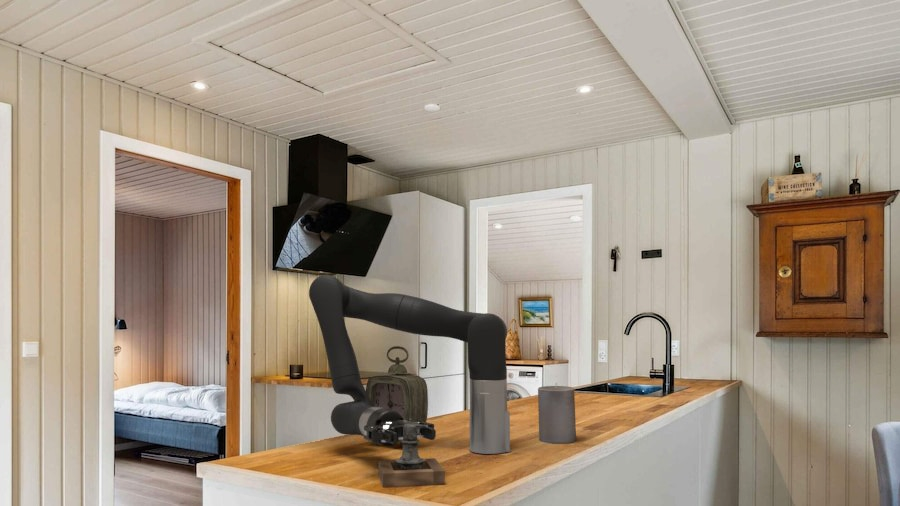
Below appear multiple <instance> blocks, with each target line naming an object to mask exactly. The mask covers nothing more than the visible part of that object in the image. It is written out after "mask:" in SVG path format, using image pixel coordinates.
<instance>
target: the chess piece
mask: <svg viewBox="0 0 900 506" xmlns="http://www.w3.org/2000/svg"><path fill="white" fill-rule="evenodd" d="M411 420H412V419H411V418H409V422H408V423H405V424H404V426H403V440H402V441H401V442H402V443H403V444H402V453H401V455H400V457H399V458H396V459H395V460H396V462H397V467H398V469H399V470H419V469H422V466H423V462H424V461H425V460H424V459H425V458H422V457H420V455H419V451H418V448H419V446H418V443H419V442H420V440H419V438H417V425H416V424H415V423H413V422H411Z"/></svg>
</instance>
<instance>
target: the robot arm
mask: <svg viewBox="0 0 900 506" xmlns="http://www.w3.org/2000/svg"><path fill="white" fill-rule="evenodd" d="M308 295H309V296H308V297H309V300H310V303H311V305H312V308H313V310H314V313H315V316H316V318H317V321H318V324H319V327H320V328H319V329H320V332H321V336H322V339H323V344H324V349H325V352H326V359H327V363H328V369H329V373H330V379H331V385H332V389H333V391H334V393H335V394H339V395H346V396H347V395H348V396H350V397H351V398H352V400H354V401H347V402H342V403H339V404H337V405H335V406H334V407H333V409H332V411H331V413H330V422H331V425H332V427H333V428H334V430H335V431H337V432H338V433H339V434H342V435H348V436H349V435H350V436H352V435H353V436H362V437H363V439H364V440H367V441H368V442H371V443H372V442H373V443H377V444H379V445H381V446H386V447H391V446H394V445H396V444H398V442H399V441H400V440H403V426H404V424H405V423H408V421H406V420H404V419H403V417H402V416H401V415H400V414H399V413H398V412H396V411H393V410H389V409H385V408H382V407H374V406H373V404H372V402H371V400H370V399H369V397H368V395H367V393H366V388H365V387H364V384H363V382H362V379H361V375H360V370H359V364H358V361H357V356H356V352H355V351H354V348H353V344H352V342H351V339H350V336H349V333H348V330H347V327H346V323H345V318H349V319H356V320H361V321H366V322H368V323H369V322H370V323H372V324H375V325H378V326H382V327H384V328H387V329H392V330H395V331H398V332H399V331H400V332H403V333H408V334H413V335H420V336H426V337H428V336H429V337H440V338H441V337H442V338H449V339H450V338H451V339H453V340H459V341H462V342H465V343H467V365H468V372H469V373H468V374H469V375H468V377H469V390H468V391H469V452H471V453H476V454H481V455H482V454H483V455H484V454H486V455H491V454H492V455H494V454H495V455H497V454H504V453H510V452H511V427H510V426H511V425H510V424H511V421H510V419H511V418H510V417H511V416H510V415H511V414H510V411H509V410H508V378H507V377H508V376H507V375H508V371H507V370H508V369H507V355H506V353H507V351H506V348H507V347H506V341H507V336H508V328H507V325H506V323H505V321H504V320H503V319H502V318H501V317H500V316H498V315H496V314H493V313H488V312H487V313H486V312H485V313H483V312H482V313H481V312H480V313H479V312H473V311H466V310H459V309H455V308H452V307H448V306H446V305H444V304H443V305H442V304H440V303H437V302H434V301H432V300H431V301H430V300H428V299H424V298H421V297H417V296H413V295H412V296H411V295H407V294H402V293H392V292H391V293H390V292H389V293H388V292H387V293H385V292H384V293H374V292H373V293H372V292H367V291H364V290H359V289H357V288H356V289H355V288H353V287H350V286H348V285H345V284H344V283H343V282H342V281H341V280H340V279H339V278H337V277H336V276H333V275H331V274H322V275H319V276H317V277H316V278H315V279H314V280H313V281H312V282H311V284H310V286H309V290H308ZM413 423H415V424H416V425H417V439H419V438H422V439H427V440H428V441H429V440H430V441H434V440H435V439H436V436H437V435H436V432H437V431H436V429H435V424H434V423H431V422H427V421H426V422H423V421H417V422H413ZM399 443H400V442H399Z"/></svg>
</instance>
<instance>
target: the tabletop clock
mask: <svg viewBox="0 0 900 506" xmlns="http://www.w3.org/2000/svg"><path fill="white" fill-rule="evenodd" d="M392 350H401V351H403V352H405V354H406V357H405V358H404V359H400V357H398V356H396V357H395V359H393V358H391V357H390V356H389V355H390V352H392ZM409 355H410V354H409V351H408V350H407V349H406V348H405V347H403V346H398V345H396V346H392V347H389V349H387V352H386V357H387V359H388V361H389V362H391V363H395V364H392V365H390V366H389V368H388V370H387V374H383V375H381V374H380V375H375V376H370V377H369V378H368V380H367V382H366V387H365V391H366V393H367V395H368V397H369V399H370V400H371V402H372V404H373V406H374V407H382V408H385V409H389V410H393V411H396V412H398V413H399V414H400V415H401V416H402V417H403V419H404V420H406V421H408V422H409V418H411V419H412V420H411V422H417V421H423V422H427V420H428V411H429V410H428V409H429V398H428V397H429V393H428V391H429V390H428V385H427V381H426V379H425V378H423V377H422V376H419V375H415V374H410V373H409V374H408V370H407V368H406V366H405V365H404V364H403V363H404V362H406V361H407V360H408V359H409ZM401 441H402V440H400V441H399V443H400V445H403V443H402V442H401ZM371 444H372V445H373V446H376V445H377V444H378V443H373V442H371Z"/></svg>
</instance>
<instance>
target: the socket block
mask: <svg viewBox="0 0 900 506" xmlns="http://www.w3.org/2000/svg"><path fill="white" fill-rule="evenodd" d="M423 459H424V460H425V461H424V462H423V466H422V469H419V470H399V469H398V467H397V462H396V459H386V460H378V467H377V468H378V476H379V479H380V482H381V485H382V486H381V487H382V488H393V487H394V488H396V487H411V486H412V487H415V486H419V487H420V486H434V485H435V486H436V485H437V486H438V485H446V471H445V469H444V468H443V467H442V465H441V463H440V462H439V461H438V460H437V459H436V457H435V458H432V457H431V458H429V457H428V458H423Z"/></svg>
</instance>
